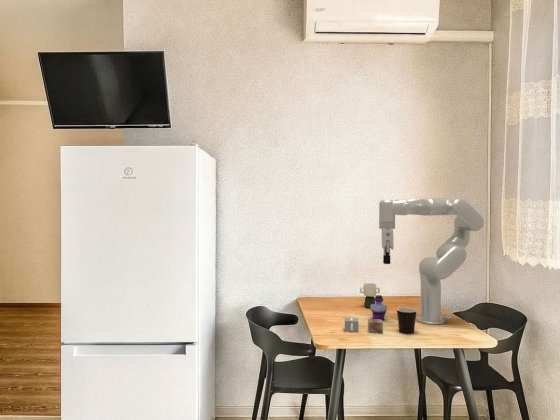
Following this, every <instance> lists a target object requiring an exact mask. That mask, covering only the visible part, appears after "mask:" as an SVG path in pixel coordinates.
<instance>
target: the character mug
mask: <svg viewBox="0 0 560 420" xmlns="http://www.w3.org/2000/svg"><path fill="white" fill-rule="evenodd" d="M359 289H360V290H359V293H360V294H363V296H365V297H364V305H363V306H364V307H365V308H370V309H371V307H370V305H371V304H376V301H374V298H375V297H376V295H377V294H380V293H381V292H380V291H381V288H380V287H378V286H377V284H376V283H371V282H367V283H363V287H362V286H361V287H360V288H359Z"/></svg>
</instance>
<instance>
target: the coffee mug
mask: <svg viewBox="0 0 560 420" xmlns="http://www.w3.org/2000/svg"><path fill="white" fill-rule="evenodd" d="M396 314H397V322H398V332H399V333H400V334H404V335H412V334H414V333H415V329H416V328H415V326H416V321H417V309H415V308H410V307H398V308H397V309H396Z"/></svg>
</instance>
